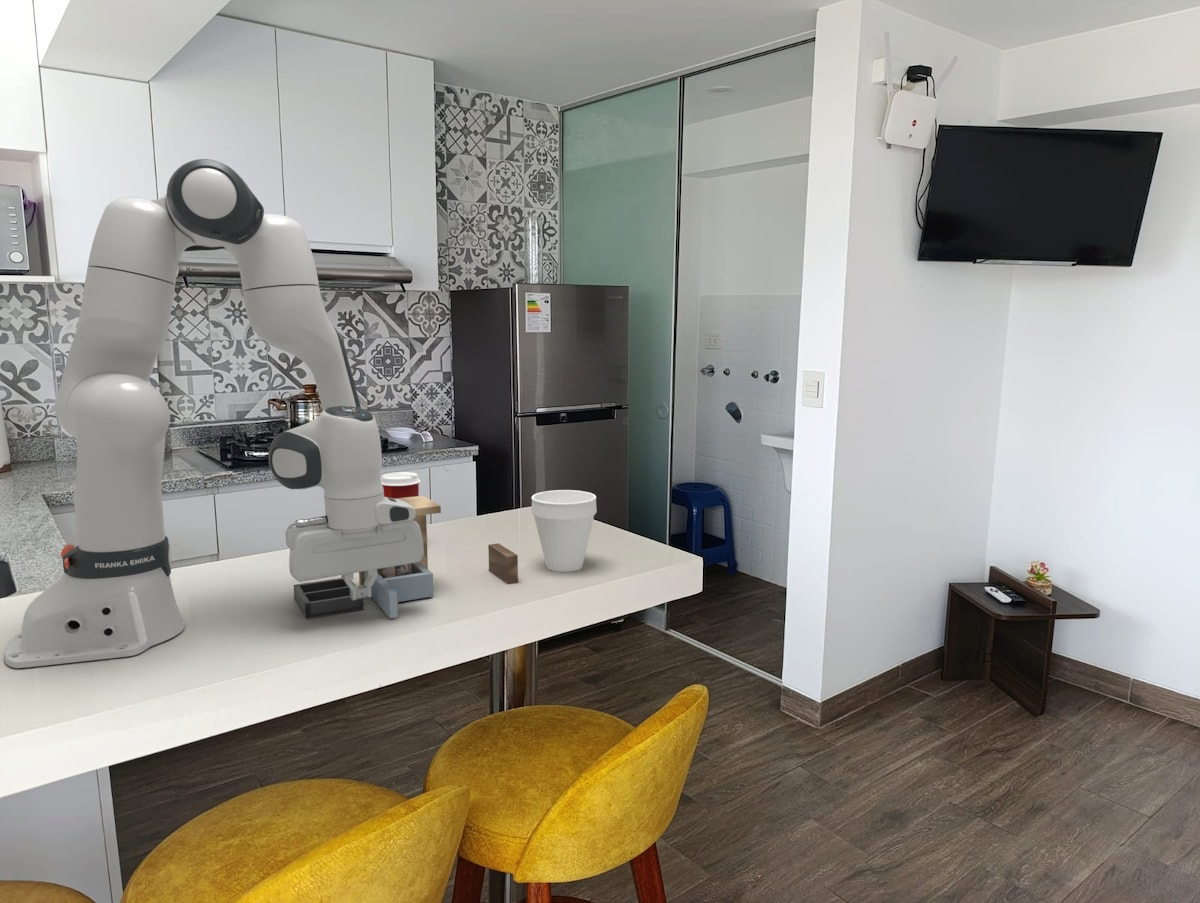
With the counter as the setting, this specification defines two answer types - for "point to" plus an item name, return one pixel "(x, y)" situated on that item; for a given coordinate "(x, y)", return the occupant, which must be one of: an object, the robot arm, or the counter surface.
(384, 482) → the coffee cup
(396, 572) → the beer can
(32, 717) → the counter surface
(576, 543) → the cup
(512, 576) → the end stop
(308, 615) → the tray
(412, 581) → the blue grey drawer
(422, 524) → the tunnel
